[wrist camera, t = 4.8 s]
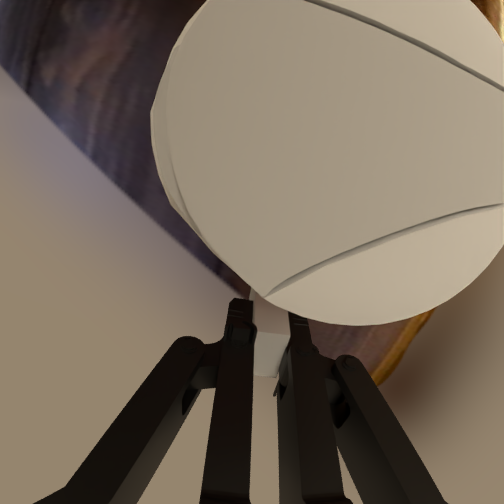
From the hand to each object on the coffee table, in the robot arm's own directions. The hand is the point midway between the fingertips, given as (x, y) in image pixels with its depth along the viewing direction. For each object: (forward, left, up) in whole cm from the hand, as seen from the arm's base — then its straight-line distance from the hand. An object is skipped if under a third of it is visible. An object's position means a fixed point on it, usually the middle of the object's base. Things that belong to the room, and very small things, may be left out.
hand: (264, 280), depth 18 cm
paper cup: (0, +9, -3) cm, 10 cm away
